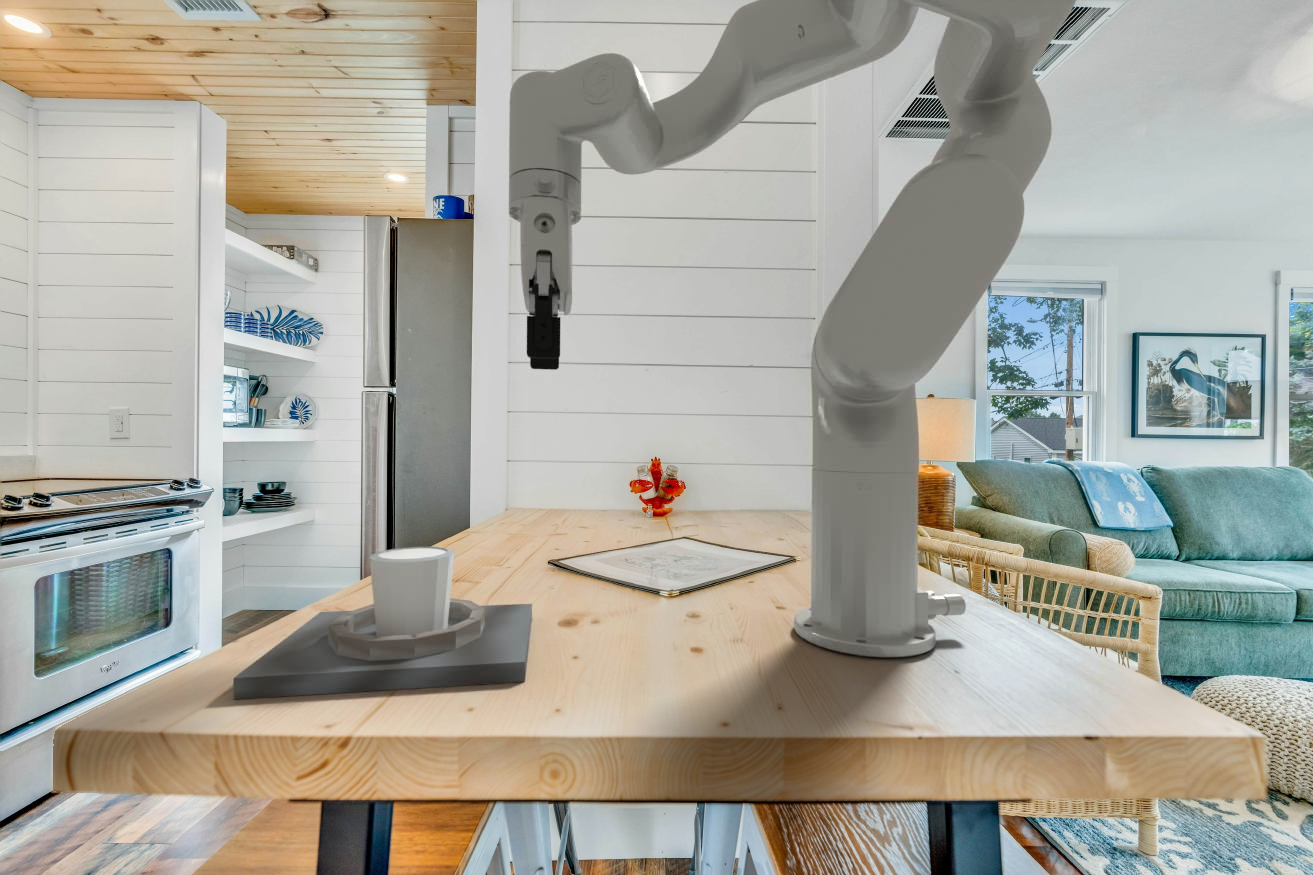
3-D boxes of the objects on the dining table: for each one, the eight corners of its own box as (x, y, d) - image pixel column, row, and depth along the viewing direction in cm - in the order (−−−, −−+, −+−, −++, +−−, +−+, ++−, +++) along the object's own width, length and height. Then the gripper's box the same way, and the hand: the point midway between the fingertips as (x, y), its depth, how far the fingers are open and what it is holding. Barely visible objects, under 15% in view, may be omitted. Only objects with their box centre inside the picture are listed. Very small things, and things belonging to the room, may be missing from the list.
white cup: (425, 650, 48) (426, 562, 48) (349, 643, 49) (350, 558, 49) (469, 624, 54) (469, 547, 54) (401, 618, 56) (402, 543, 56)
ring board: (531, 618, 61) (532, 588, 61) (524, 681, 45) (525, 641, 45) (320, 627, 58) (320, 596, 58) (233, 699, 42) (233, 656, 42)
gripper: (585, 169, 55) (584, 354, 55) (577, 232, 72) (576, 373, 72) (502, 162, 54) (500, 351, 54) (514, 228, 71) (512, 371, 71)
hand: (544, 363), depth 63 cm, fingers open, 9 cm apart
